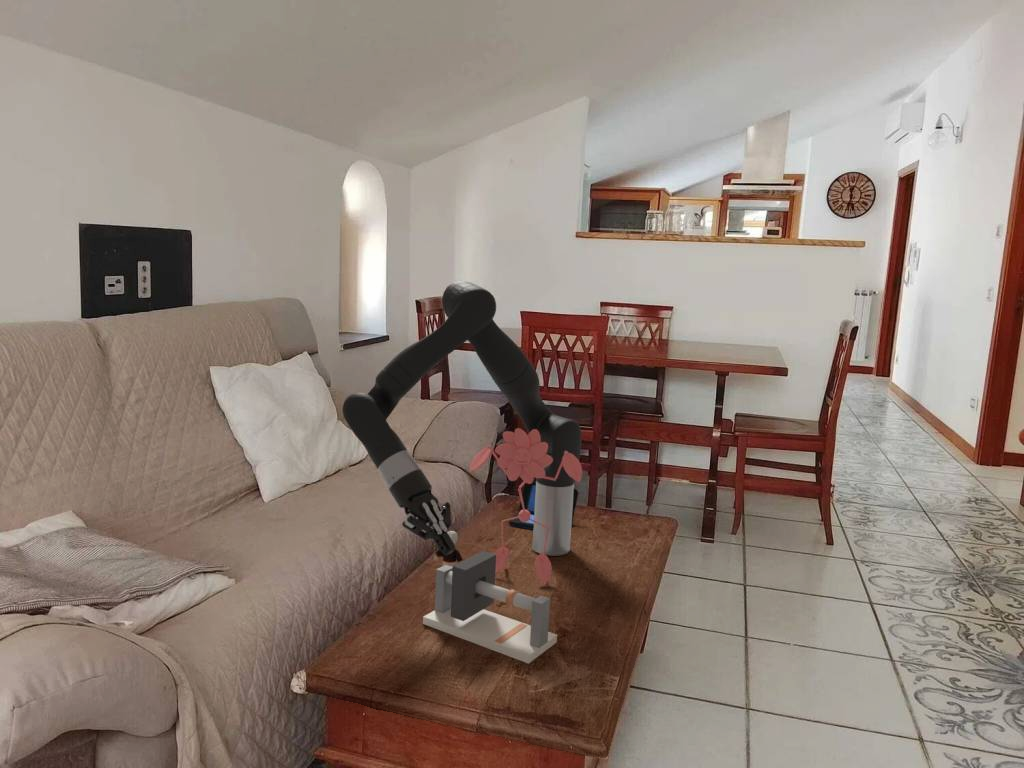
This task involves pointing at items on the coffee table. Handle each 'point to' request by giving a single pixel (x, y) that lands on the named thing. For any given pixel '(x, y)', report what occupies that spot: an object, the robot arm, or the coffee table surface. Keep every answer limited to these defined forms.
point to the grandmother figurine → (453, 556)
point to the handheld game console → (533, 506)
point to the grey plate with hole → (471, 585)
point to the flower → (526, 479)
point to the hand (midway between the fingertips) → (450, 552)
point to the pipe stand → (494, 620)
